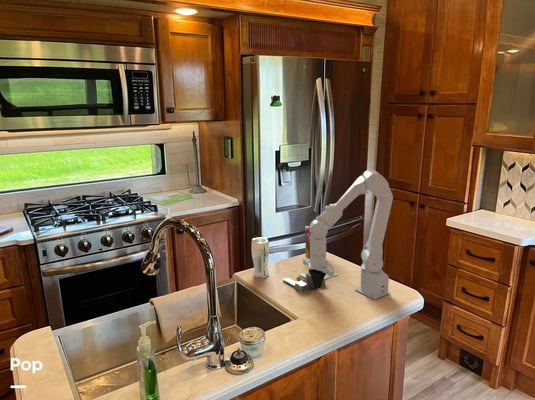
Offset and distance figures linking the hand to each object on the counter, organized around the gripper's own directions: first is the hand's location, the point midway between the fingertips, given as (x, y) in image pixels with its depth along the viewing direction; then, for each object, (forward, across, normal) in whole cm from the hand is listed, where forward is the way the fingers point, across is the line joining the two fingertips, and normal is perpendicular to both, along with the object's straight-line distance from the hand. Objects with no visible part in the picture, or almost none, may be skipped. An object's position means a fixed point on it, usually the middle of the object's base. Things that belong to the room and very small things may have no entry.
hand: (317, 287), depth 147 cm
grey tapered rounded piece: (+1, -7, 0) cm, 7 cm away
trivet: (+1, -10, +12) cm, 16 cm away
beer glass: (+2, -24, -9) cm, 26 cm away
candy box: (+2, -23, +19) cm, 30 cm away
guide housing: (+1, -8, 0) cm, 8 cm away
